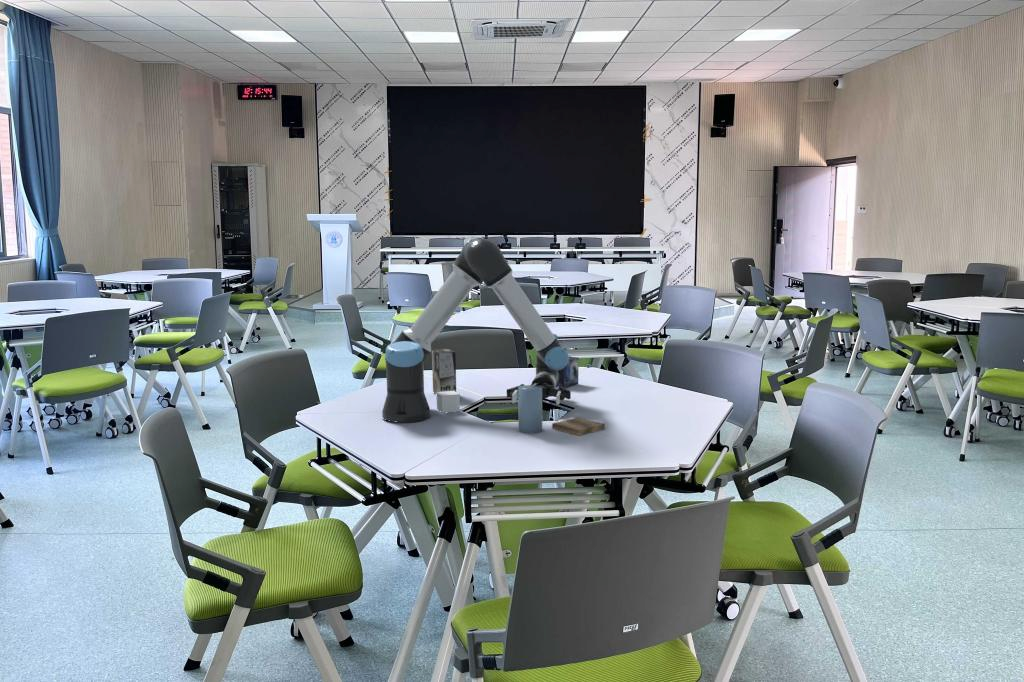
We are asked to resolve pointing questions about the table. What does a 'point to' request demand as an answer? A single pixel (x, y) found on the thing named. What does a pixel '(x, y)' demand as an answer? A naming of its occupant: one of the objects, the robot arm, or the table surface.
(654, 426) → the table surface
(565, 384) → the small box
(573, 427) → the board
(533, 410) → the grey cylinder
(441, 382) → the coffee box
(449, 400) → the grey cube
